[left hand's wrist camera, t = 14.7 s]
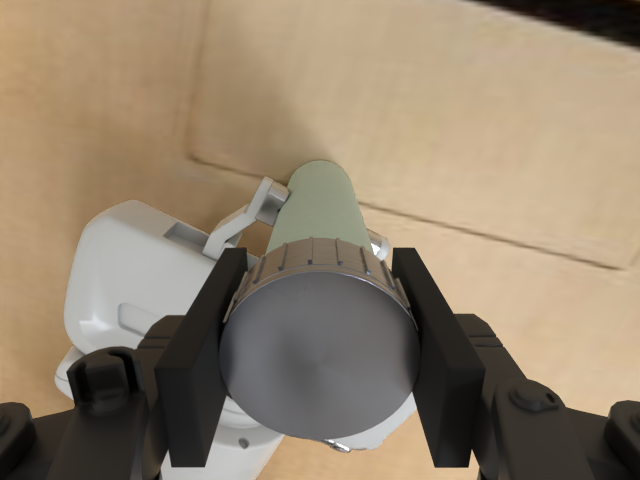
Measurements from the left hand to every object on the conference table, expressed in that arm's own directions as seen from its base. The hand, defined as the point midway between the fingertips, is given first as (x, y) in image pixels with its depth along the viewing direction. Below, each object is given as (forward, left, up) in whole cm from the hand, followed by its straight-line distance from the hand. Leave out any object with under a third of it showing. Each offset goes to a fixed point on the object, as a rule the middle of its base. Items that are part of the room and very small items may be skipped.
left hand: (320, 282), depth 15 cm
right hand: (-1, 0, -6) cm, 7 cm away
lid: (0, 0, +4) cm, 4 cm away
